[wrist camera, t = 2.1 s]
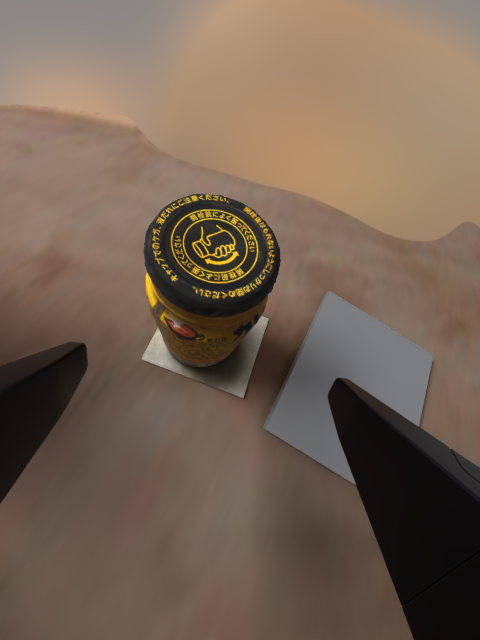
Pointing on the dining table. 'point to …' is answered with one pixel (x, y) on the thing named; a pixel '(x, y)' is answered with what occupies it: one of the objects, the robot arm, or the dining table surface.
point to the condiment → (209, 288)
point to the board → (351, 363)
